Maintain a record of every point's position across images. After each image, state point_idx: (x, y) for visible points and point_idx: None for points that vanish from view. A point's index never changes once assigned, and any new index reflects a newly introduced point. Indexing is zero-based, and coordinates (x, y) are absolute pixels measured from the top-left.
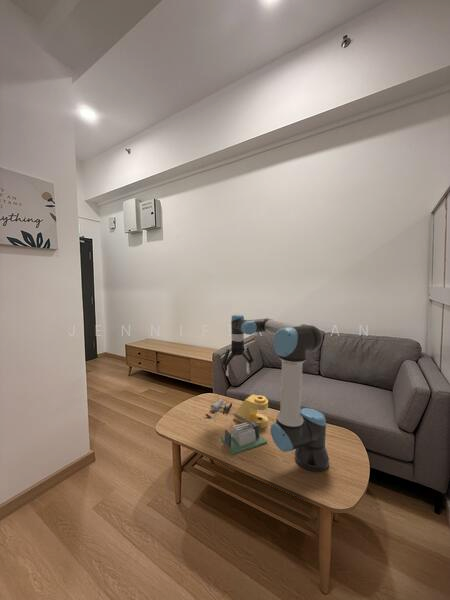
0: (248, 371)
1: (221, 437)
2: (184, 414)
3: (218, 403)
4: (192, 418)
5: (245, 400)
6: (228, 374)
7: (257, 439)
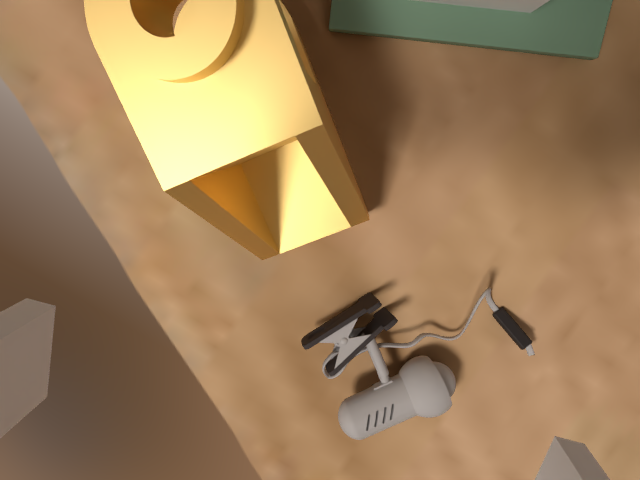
0: (5, 329)
1: (598, 50)
2: (619, 440)
3: (395, 395)
4: (604, 372)
5: (320, 116)
6: (578, 469)
7: None
